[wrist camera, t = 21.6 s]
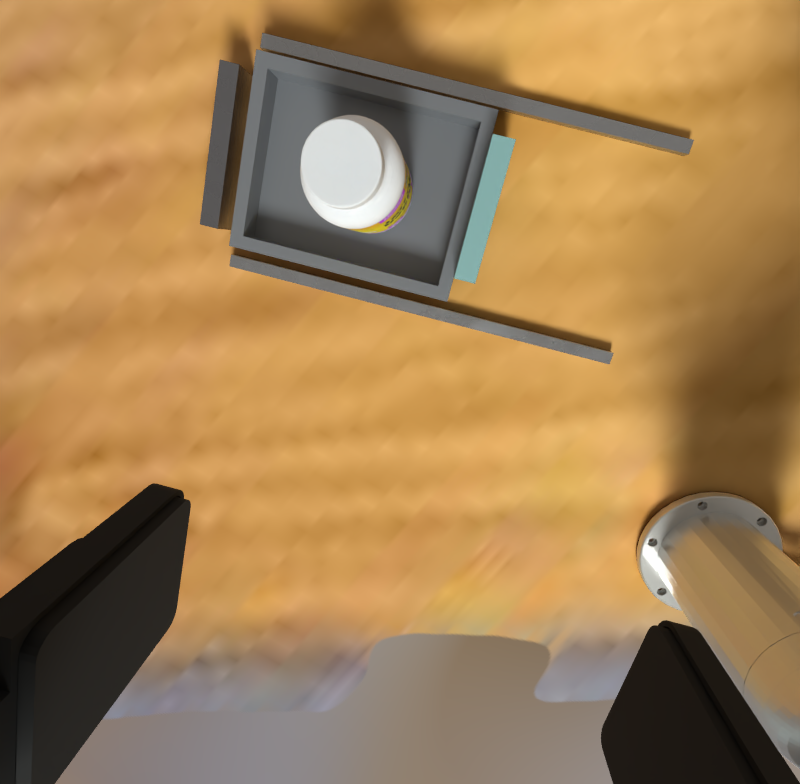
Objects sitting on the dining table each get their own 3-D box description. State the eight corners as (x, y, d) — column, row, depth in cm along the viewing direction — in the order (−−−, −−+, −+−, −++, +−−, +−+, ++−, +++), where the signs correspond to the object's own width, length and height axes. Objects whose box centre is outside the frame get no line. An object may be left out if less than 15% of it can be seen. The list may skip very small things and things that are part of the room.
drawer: (513, 127, 40) (524, 107, 34) (465, 302, 44) (467, 309, 38) (273, 67, 40) (245, 38, 34) (247, 246, 44) (218, 245, 38)
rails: (689, 142, 39) (708, 133, 36) (606, 362, 44) (617, 370, 41) (241, 30, 40) (225, 13, 37) (211, 260, 45) (195, 261, 42)
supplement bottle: (397, 245, 42) (376, 244, 29) (322, 217, 41) (268, 204, 29) (426, 161, 40) (416, 122, 27) (346, 132, 40) (301, 79, 27)
